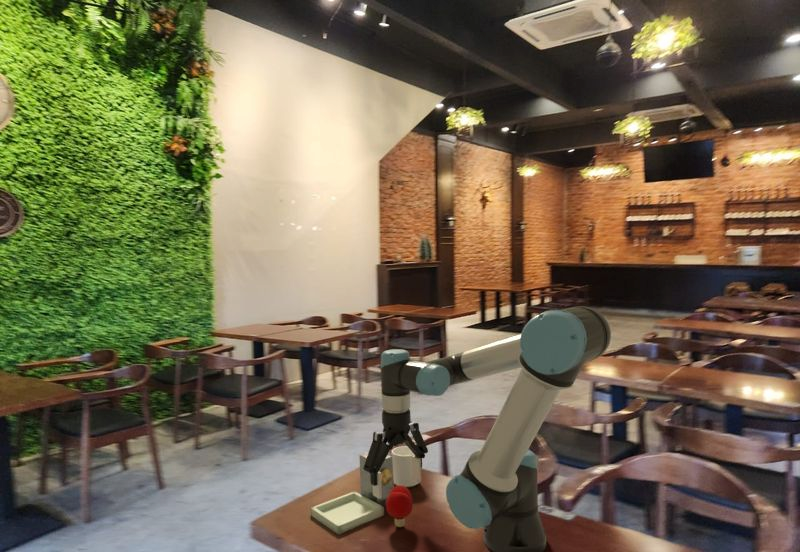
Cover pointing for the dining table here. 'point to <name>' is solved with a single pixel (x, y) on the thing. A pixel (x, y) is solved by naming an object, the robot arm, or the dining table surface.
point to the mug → (403, 467)
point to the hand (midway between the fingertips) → (397, 488)
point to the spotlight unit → (385, 480)
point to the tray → (347, 512)
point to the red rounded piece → (399, 504)
